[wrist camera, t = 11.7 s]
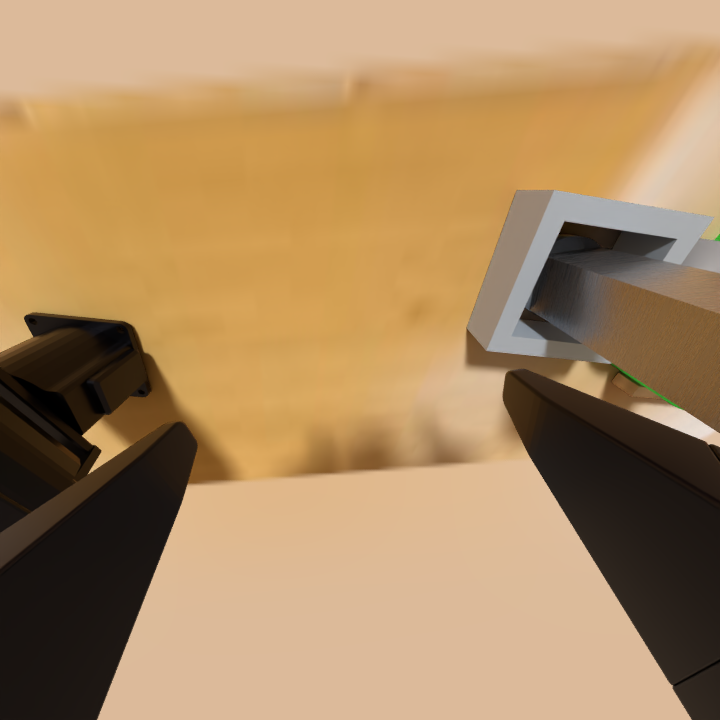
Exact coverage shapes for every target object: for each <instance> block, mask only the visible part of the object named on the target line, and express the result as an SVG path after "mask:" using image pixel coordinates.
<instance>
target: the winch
mask: <svg viewBox="0 0 720 720" xmlns="http://www.w3.org/2000/svg"><path fill="white" fill-rule="evenodd" d="M713 219H714V217H710V216H704V215H698V214H692V213H687V212H681V211H675V210H669V209H663V208H657V207H651V206H645V205H639V204H633V203H628V202H622V201H616V200H610V199H604V198H598V197H592V196H586V195H580V194H574V193H569V192H563V191H557V190H517V191H516V194H515V196H514V199H513V202H512V205H511V207H510V210H509V213H508V216H507V219H506V221H505V224H504V227H503V230H502V232H501V235H500V238H499V241H498V243H497V246H496V249H495V252H494V254H493V257H492V260H491V263H490V265H489V268H488V271H487V274H486V276H485V279H484V282H483V285H482V287H481V290H480V293H479V296H478V298H477V301H476V304H475V307H474V309H473V312H472V315H471V318H470V320H469V323H468V326H467V329H468V330H469V331H470V333H471V334H472V335H473V336H474V337H475V338H476V340H477V341H478V342H479V343H480V344H481V345H482V346H483V348H484V349H485V350H486V351H492V352H502V353H511V354H521V355H531V356H540V357H550V358H560V359H569V360H579V361H589V362H598V363H608V364H611V362H609V361H608V360H606V359H605V358H603V357H602V356H600V355H599V354H597V353H596V352H594V351H593V350H591V349H589V348H588V347H586V346H585V345H583V344H582V343H580V342H579V341H577V340H576V339H574V338H573V337H571V336H569V335H568V334H566V333H565V332H563V331H562V330H560V329H559V328H557V327H556V326H554V325H553V324H551V323H549V322H542V321H533V320H524V319H519V318H520V316H521V314H522V312H523V310H524V308H525V305H526V303H527V301H528V299H529V297H530V295H531V292H532V290H533V288H534V286H535V284H536V282H537V279H538V277H539V275H540V273H541V271H542V269H543V266H544V264H545V262H546V260H547V258H548V255H549V253H550V251H551V249H552V247H553V245H554V242H555V240H556V238H557V236H558V234H559V232H560V229H561V227H562V225H563V223H564V222H570V223H576V224H582V225H589V226H595V227H601V228H608V229H614V230H620V231H622V232H621V234H620V236H619V237H618V239H617V241H616V243H615V245H614V246H613V248H612V250H616V251H621V252H625V253H630V254H634V255H639V256H643V257H648V258H652V259H657V260H662V261H666V262H671V263H675V264H680V265H684V266H689V267H693V268H698V269H703V270H707V271H712V272H716V273H720V241H714V240H707V239H700V237H701V236H702V234H703V233H704V231H705V230H706V228H707V227H708V226H709V224H710V223H711V221H712V220H713Z"/></svg>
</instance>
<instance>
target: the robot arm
mask: <svg viewBox="0 0 720 720" xmlns="http://www.w3.org/2000/svg"><path fill="white" fill-rule="evenodd" d="M24 320H25V322H26V324H27V326H28V328H29V330H30V331H31V333H32V335H33V338H31V339H28V340H26V341H24V342H22V343H20V344H18V345H16V346H13V347H11V348H9V349H7V350H5V351H3V352H1V353H0V720H97V719H98V716H99V714H100V711H101V708H102V706H103V703H104V701H105V698H106V696H107V693H108V691H109V688H110V685H111V683H112V680H113V678H114V675H115V673H116V670H117V667H118V665H119V662H120V660H121V657H122V655H123V652H124V649H125V647H126V644H127V642H128V639H129V636H130V634H131V632H132V629H133V626H134V624H135V621H136V619H137V616H138V614H139V611H140V609H141V606H142V603H143V601H144V598H145V596H146V593H147V591H148V588H149V586H150V583H151V580H152V578H153V575H154V573H155V570H156V567H157V565H158V562H159V560H160V557H161V555H162V552H163V550H164V547H165V545H166V542H167V539H168V537H169V534H170V532H171V529H172V527H173V524H174V521H175V519H176V516H177V514H178V511H179V509H180V506H181V503H182V500H183V497H184V494H185V490H186V487H187V483H188V480H189V476H190V473H191V469H192V466H193V462H194V459H195V455H196V452H197V446H198V445H197V441H196V439H195V437H194V436H193V434H192V433H191V431H190V430H189V429H188V427H187V426H186V424H185V423H184V422H182V421H176V422H169V423H166V424H164V425H162V426H161V427H159V428H158V429H156V430H155V431H153V432H152V433H150V434H149V435H147V436H146V437H144V438H143V439H141V440H140V441H138V442H136V443H135V444H133V445H132V446H130V447H129V448H127V449H126V450H124V451H123V452H121V453H120V454H118V455H117V456H115V457H114V458H112V459H111V460H109V461H108V462H106V463H105V464H103V465H102V466H100V467H99V468H97V469H96V470H94V471H93V472H91V473H90V474H88V473H89V471H90V469H91V468H92V466H93V465H94V463H95V461H96V460H97V458H98V456H99V455H100V453H101V450H100V449H99V448H98V447H97V446H96V445H92V444H91V443H89V442H88V441H87V440H86V439H85V438H84V437H82V435H83V434H84V433H85V432H86V431H87V430H89V429H90V428H91V427H92V426H93V425H94V424H95V423H96V422H97V421H98V420H99V419H100V418H102V417H103V416H104V415H109V414H111V413H112V412H113V411H114V410H115V409H116V408H118V407H119V406H120V405H121V404H122V403H123V402H124V401H125V400H126V399H127V398H128V397H129V396H136V397H146V396H148V395H149V394H150V393H151V388H150V384H149V381H148V378H147V374H146V371H145V368H144V365H143V362H142V359H141V356H140V353H139V350H138V347H137V343H136V340H135V337H134V334H133V331H132V328H131V326H130V325H129V324H128V323H126V322H123V321H115V320H105V319H95V318H85V317H75V316H65V315H55V314H45V313H30V314H28V315H26V316H25V317H24ZM120 327H121V328H123V329H124V330H122V329H121V328H120ZM503 401H504V404H505V406H506V409H507V411H508V413H509V415H510V417H511V419H512V421H513V423H514V425H515V428H516V430H517V432H518V434H519V436H520V438H521V440H522V442H523V444H524V446H525V448H526V450H527V452H528V454H529V456H530V458H531V459H532V461H533V463H534V464H535V466H536V467H537V469H538V471H539V472H540V474H541V475H542V477H543V479H544V481H545V482H546V483H547V485H548V487H549V489H550V490H551V492H552V493H553V495H554V496H555V498H556V500H557V501H558V503H559V505H560V506H561V508H562V509H563V511H564V513H565V515H566V516H567V518H568V519H569V521H570V523H571V524H572V526H573V527H574V529H575V531H576V532H577V534H578V536H579V537H580V539H581V540H582V542H583V544H584V545H585V547H586V549H587V550H588V552H589V553H590V555H591V557H592V558H593V560H594V561H595V563H596V565H597V566H598V568H599V570H600V571H601V573H602V574H603V576H604V578H605V579H606V581H607V583H608V584H609V585H610V587H611V589H612V591H613V592H614V594H615V596H616V597H617V599H618V600H619V602H620V604H621V605H622V607H623V608H624V610H625V611H626V613H627V615H628V616H629V618H630V620H631V621H632V623H633V625H634V626H635V628H636V629H637V631H638V633H639V634H640V636H641V638H642V639H643V641H644V642H645V644H646V646H647V647H648V649H649V650H650V652H651V654H652V655H653V657H654V659H655V660H656V662H657V663H658V665H659V667H660V668H661V670H662V671H663V673H664V675H665V676H666V678H667V680H668V681H669V683H670V684H671V685H673V690H674V692H675V693H676V695H677V696H678V698H679V700H680V701H681V703H682V705H683V706H684V708H685V709H686V711H687V713H688V714H689V716H690V717H691V719H692V720H720V447H718V446H716V445H713V444H710V445H708V444H707V443H706V442H705V441H703V440H700V439H698V438H695V437H693V436H690V435H688V434H685V433H683V432H680V431H678V430H675V429H673V428H670V427H668V426H665V425H663V424H660V423H658V422H655V421H653V420H650V419H648V418H645V417H643V416H640V415H638V414H635V413H633V412H630V411H628V410H625V409H623V408H620V407H618V406H616V405H613V404H611V403H608V402H606V401H603V400H601V399H598V398H596V397H593V396H591V395H588V394H586V393H583V392H581V391H578V390H576V389H573V388H571V387H568V386H566V385H563V384H561V383H558V382H556V381H553V380H551V379H548V378H546V377H543V376H541V375H538V374H536V373H533V372H531V371H528V370H526V369H518V370H511V371H508V372H507V373H506V375H505V381H504V389H503ZM87 474H88V475H87Z"/></svg>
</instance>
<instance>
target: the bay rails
mask: <svg viewBox="0 0 720 720" xmlns="http://www.w3.org/2000/svg"><path fill="white" fill-rule="evenodd" d="M612 383H613V384H615V385H616V386H617V387H619V388H620V389H622V390H623V391H624V392H626V393H627V394H628V395H630V396H632V397H643V398H654V399H662V398H661V397H659V396H658V395H656V394H655V393H653V392H652V391H650V390H649V389H647V388H646V387H644V386H643V385H641V384H640V383H638V382H637V381H635V380H634V379H632V378H631V377H629V376H628V375H626V374H625V373H617V375H616V376H615V378H614V379H613V380H612Z"/></svg>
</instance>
